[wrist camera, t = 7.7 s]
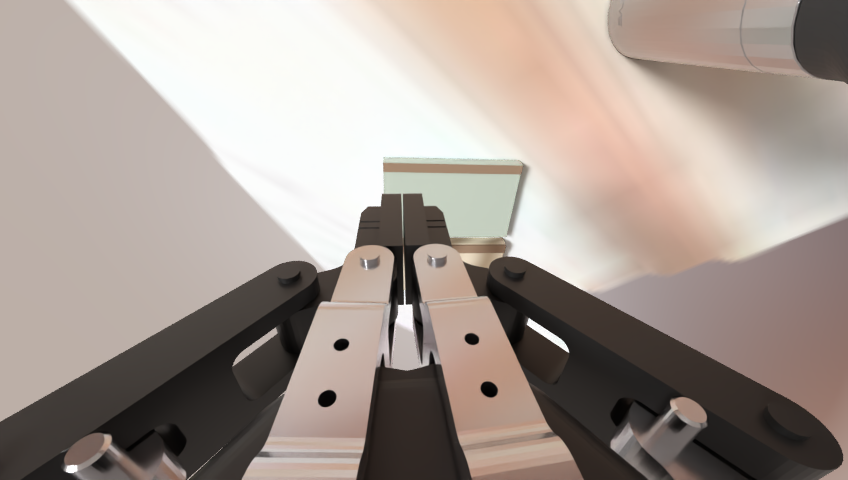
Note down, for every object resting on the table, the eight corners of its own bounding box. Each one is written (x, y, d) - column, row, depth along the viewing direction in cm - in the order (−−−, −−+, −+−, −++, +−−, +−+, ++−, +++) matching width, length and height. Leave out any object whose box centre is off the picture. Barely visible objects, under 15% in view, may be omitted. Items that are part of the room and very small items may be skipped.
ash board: (502, 237, 44) (506, 244, 42) (492, 281, 48) (495, 289, 46) (384, 237, 42) (384, 245, 41) (385, 283, 46) (385, 291, 45)
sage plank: (518, 160, 38) (523, 165, 36) (502, 230, 43) (506, 237, 42) (383, 157, 36) (383, 162, 35) (385, 230, 42) (384, 237, 40)
